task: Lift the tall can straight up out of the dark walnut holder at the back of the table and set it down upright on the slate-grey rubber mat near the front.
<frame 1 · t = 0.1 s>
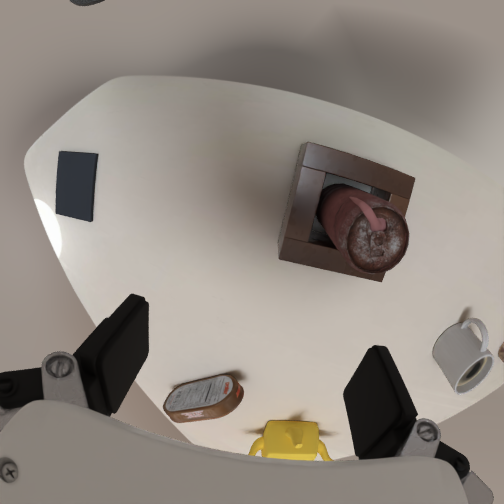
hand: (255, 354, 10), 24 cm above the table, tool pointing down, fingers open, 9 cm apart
teapot: (289, 431, 48), on the table
mat: (75, 185, 33), on the table
can: (337, 206, 32), resting in holder
holder: (337, 206, 32), on the table
tin: (205, 381, 44), on the table
mug: (453, 337, 38), on the table
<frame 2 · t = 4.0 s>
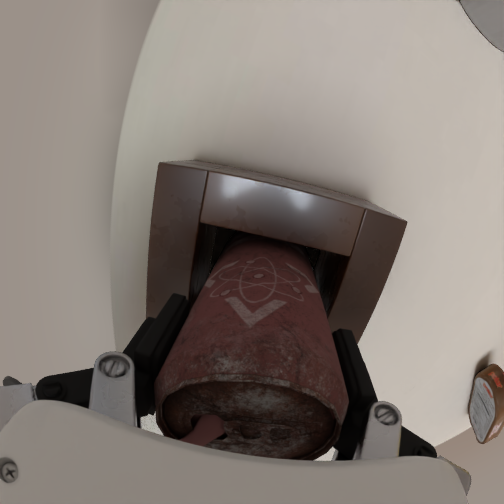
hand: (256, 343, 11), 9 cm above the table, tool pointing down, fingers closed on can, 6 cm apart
can: (263, 262, 20), resting in holder, touching gripper
holder: (263, 263, 19), on the table
tin: (475, 388, 24), on the table
mug: (480, 10, 9), on the table
when the fingers open (10 cm above the table, at t = 13.2 s): can stays where it is, resting on mat.
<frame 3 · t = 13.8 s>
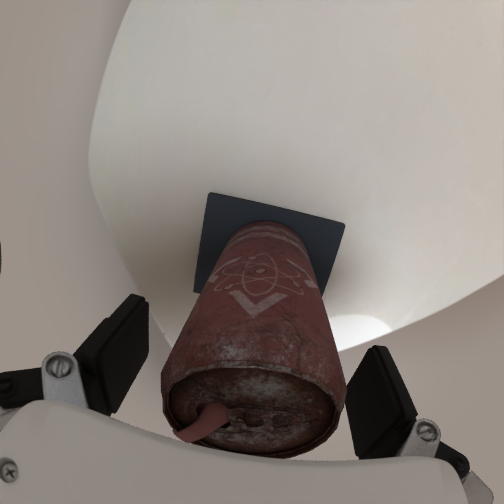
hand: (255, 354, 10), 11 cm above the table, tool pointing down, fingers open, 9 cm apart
mat: (265, 258, 21), on the table
can: (264, 260, 20), resting on mat
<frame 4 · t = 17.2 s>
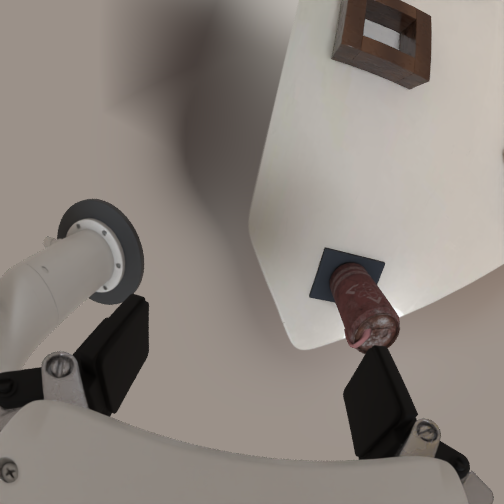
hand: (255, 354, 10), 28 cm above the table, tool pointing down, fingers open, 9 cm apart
mat: (347, 279, 39), on the table
can: (347, 280, 39), resting on mat
holder: (377, 40, 27), on the table
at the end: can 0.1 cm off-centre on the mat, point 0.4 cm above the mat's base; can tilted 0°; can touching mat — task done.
